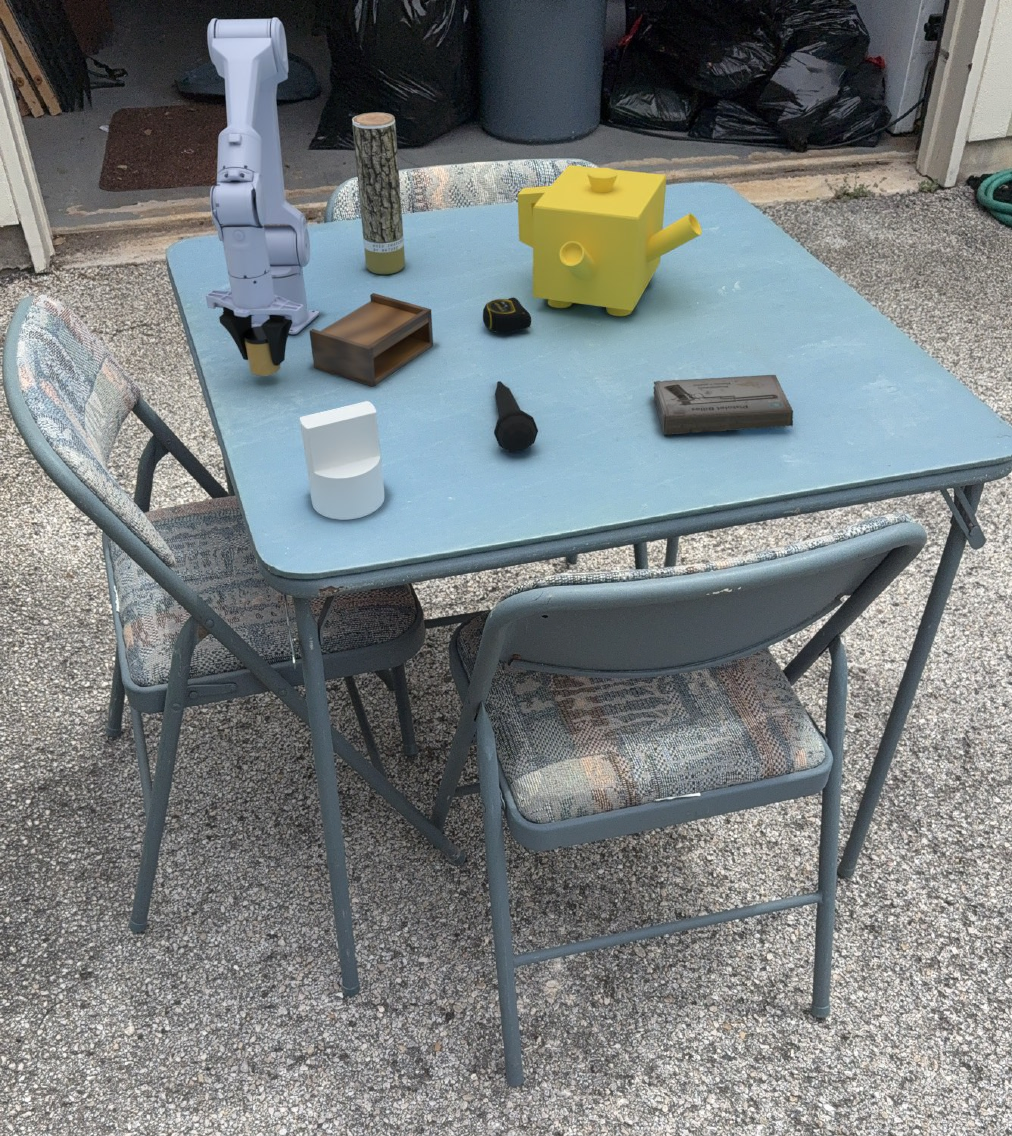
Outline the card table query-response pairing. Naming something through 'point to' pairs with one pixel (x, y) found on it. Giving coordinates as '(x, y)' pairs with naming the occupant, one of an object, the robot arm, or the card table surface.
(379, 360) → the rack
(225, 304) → the robot arm
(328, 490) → the base with upright slab
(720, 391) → the box
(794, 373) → the card table surface
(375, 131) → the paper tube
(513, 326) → the tape measure
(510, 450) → the microphone
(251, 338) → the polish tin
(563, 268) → the yellow cubic teapot
